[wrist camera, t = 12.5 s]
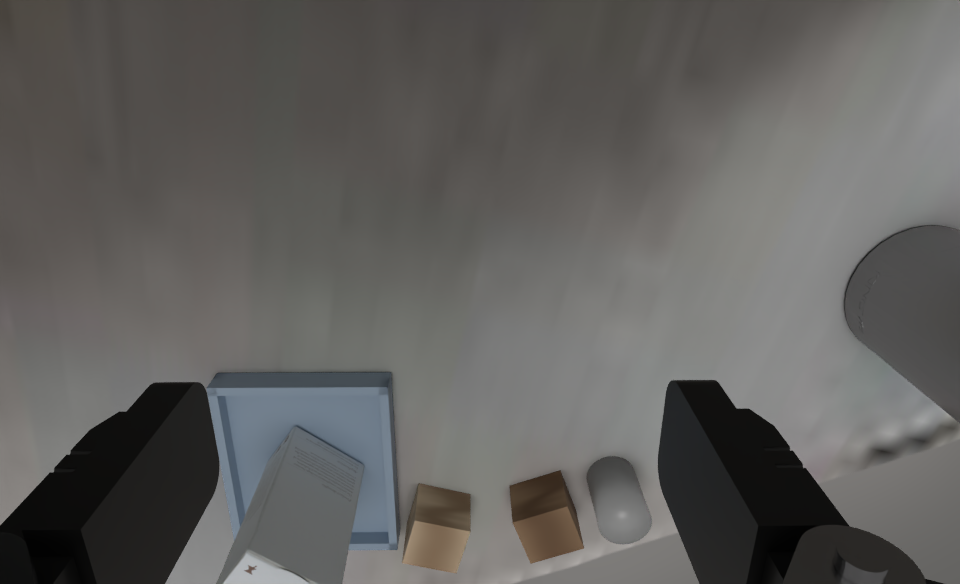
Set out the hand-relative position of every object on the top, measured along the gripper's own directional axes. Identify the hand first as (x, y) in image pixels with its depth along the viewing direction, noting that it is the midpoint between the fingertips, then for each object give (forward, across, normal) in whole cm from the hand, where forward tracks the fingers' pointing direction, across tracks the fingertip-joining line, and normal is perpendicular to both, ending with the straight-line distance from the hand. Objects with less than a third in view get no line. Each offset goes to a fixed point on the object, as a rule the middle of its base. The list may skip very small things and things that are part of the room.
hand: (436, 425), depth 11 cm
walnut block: (+30, -6, +27) cm, 41 cm away
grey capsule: (+30, -11, +25) cm, 41 cm away
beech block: (+30, +2, +28) cm, 41 cm away
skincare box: (+30, +10, +23) cm, 39 cm away
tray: (+30, +11, +23) cm, 39 cm away
